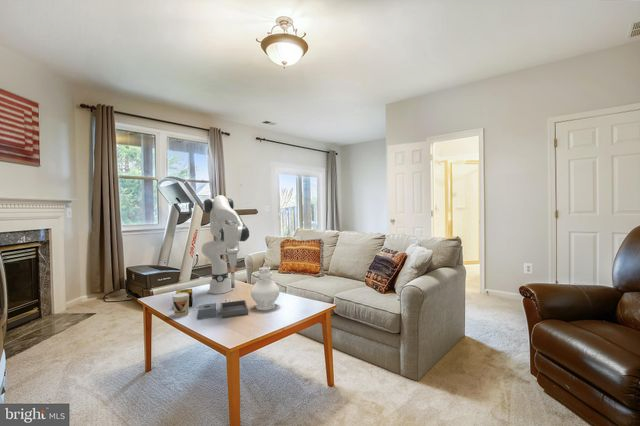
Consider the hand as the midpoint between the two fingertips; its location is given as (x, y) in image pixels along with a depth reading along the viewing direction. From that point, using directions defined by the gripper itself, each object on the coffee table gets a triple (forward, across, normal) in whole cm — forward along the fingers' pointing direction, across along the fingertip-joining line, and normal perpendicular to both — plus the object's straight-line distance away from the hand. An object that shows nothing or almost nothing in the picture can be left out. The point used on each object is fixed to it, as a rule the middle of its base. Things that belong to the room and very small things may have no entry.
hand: (232, 270), depth 188 cm
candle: (+25, -24, -30) cm, 46 cm away
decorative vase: (+25, -1, +20) cm, 32 cm away
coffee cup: (+25, -7, -30) cm, 40 cm away
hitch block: (+25, 0, -15) cm, 29 cm away
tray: (+25, 0, 0) cm, 25 cm away
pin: (+10, 0, 0) cm, 10 cm away
